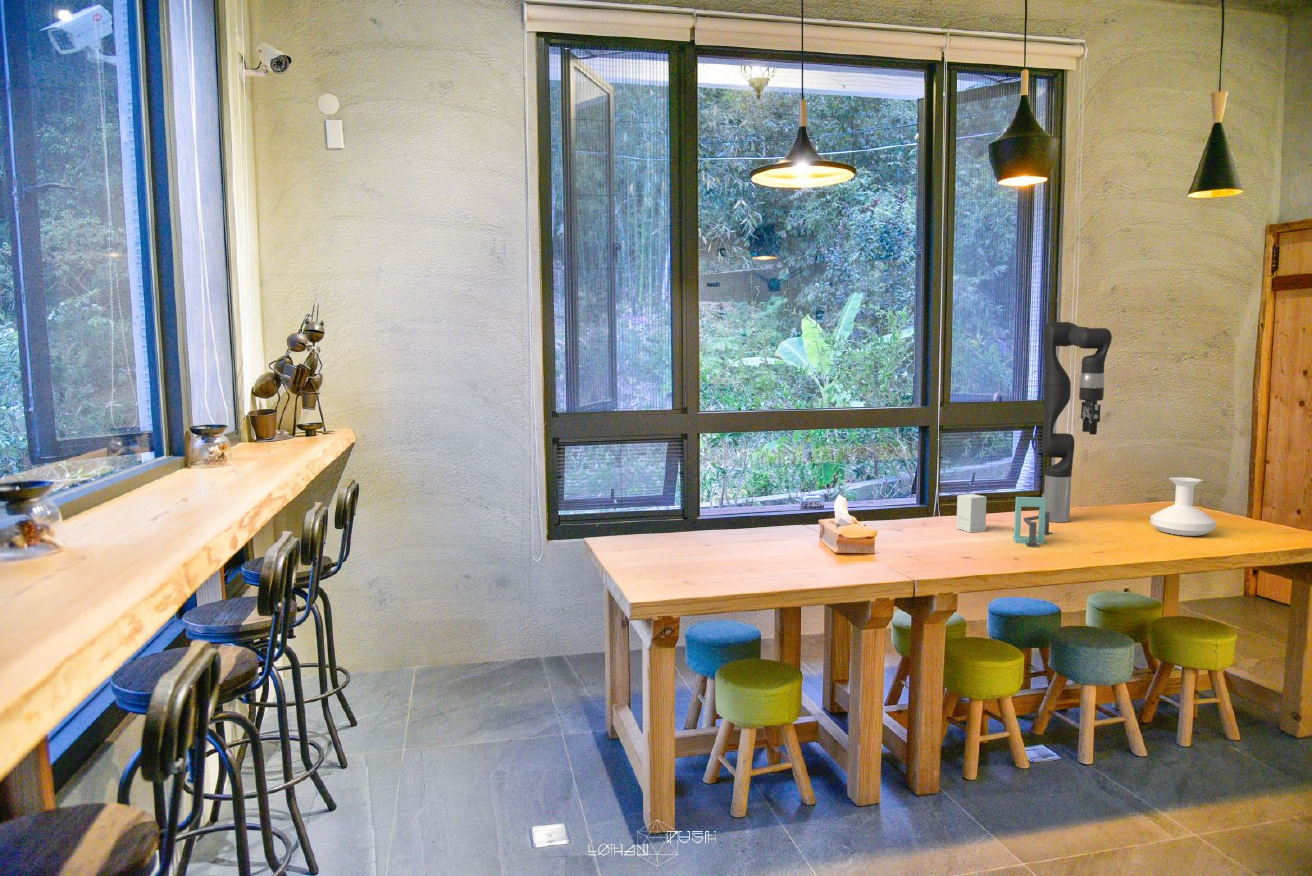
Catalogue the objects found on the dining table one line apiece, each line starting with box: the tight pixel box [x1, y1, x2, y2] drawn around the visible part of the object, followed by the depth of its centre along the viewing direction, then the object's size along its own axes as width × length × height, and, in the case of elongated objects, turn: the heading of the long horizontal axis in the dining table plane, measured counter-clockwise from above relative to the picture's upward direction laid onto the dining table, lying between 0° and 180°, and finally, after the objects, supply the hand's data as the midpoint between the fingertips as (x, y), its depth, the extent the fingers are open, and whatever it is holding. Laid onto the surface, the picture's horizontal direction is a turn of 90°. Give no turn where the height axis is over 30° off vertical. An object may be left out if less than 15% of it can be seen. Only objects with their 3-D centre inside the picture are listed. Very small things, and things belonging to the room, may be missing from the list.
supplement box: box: [956, 493, 987, 533], centre depth 317 cm, size 7×7×13 cm
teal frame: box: [1012, 496, 1046, 545], centre depth 298 cm, size 4×9×15 cm, turn 80°
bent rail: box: [1023, 511, 1053, 548], centre depth 303 cm, size 8×26×8 cm, turn 146°
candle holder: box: [1149, 476, 1217, 537], centre depth 312 cm, size 20×20×19 cm
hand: (1089, 433), depth 305 cm, fingers open, 8 cm apart
